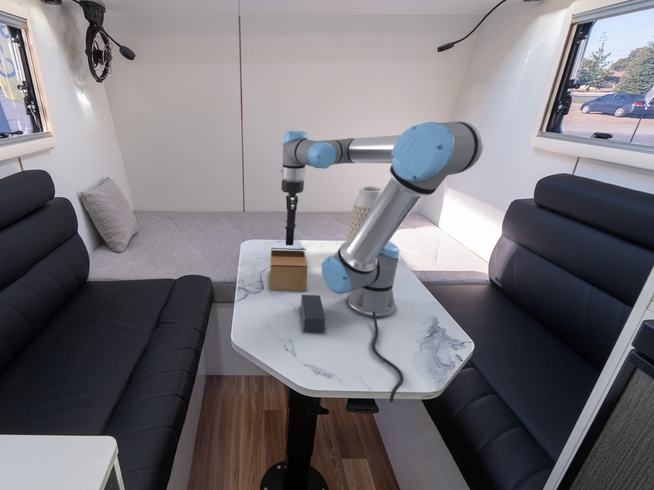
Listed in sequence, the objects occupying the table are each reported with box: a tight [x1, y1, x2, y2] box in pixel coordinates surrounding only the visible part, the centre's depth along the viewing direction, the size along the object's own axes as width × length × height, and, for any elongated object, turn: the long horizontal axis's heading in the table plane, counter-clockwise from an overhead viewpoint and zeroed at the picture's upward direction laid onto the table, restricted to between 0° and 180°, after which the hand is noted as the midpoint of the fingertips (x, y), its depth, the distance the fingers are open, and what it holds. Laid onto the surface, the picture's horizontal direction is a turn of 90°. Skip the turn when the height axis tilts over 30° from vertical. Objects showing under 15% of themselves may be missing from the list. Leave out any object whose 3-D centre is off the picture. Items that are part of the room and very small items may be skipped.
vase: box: [346, 185, 384, 241], centre depth 156 cm, size 14×14×31 cm
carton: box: [269, 249, 308, 292], centre depth 140 cm, size 15×13×10 cm
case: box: [300, 294, 326, 334], centre depth 118 cm, size 14×6×5 cm, turn 178°
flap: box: [270, 247, 307, 251], centre depth 141 cm, size 7×13×1 cm, turn 89°
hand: (289, 244), depth 136 cm, fingers closed
